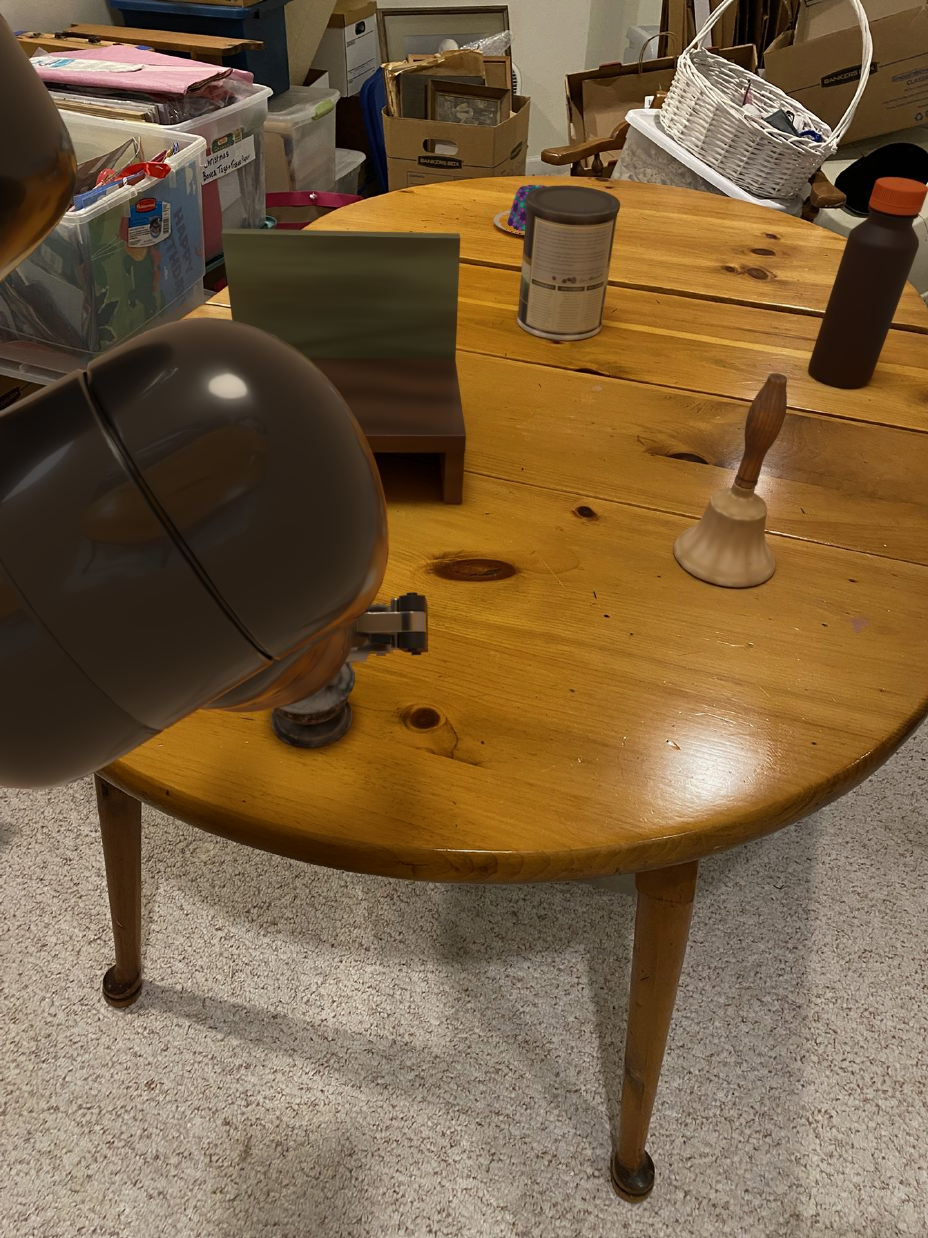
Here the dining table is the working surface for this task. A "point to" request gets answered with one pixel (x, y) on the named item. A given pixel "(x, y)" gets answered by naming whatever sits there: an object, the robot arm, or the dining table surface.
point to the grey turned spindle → (317, 714)
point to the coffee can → (566, 261)
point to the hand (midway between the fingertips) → (296, 635)
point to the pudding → (517, 209)
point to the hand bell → (739, 507)
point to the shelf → (365, 326)
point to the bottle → (868, 285)
